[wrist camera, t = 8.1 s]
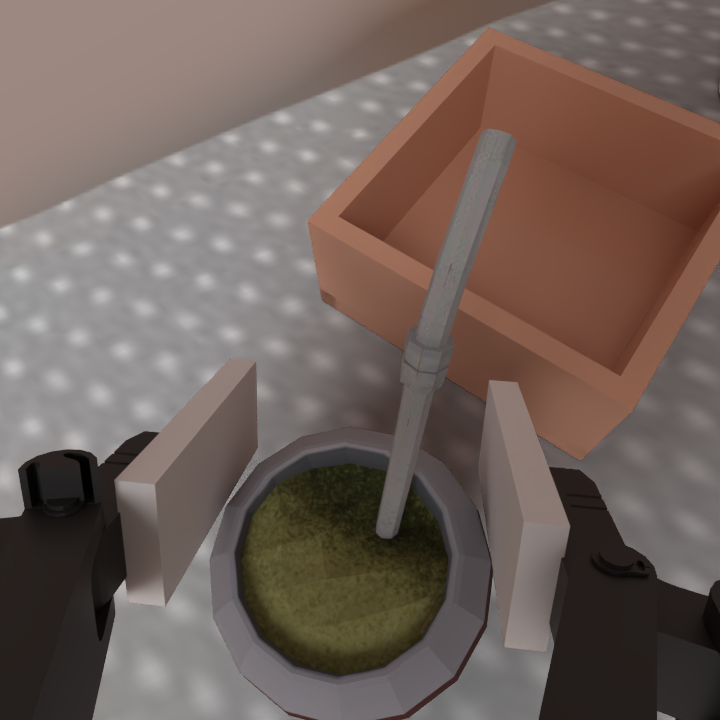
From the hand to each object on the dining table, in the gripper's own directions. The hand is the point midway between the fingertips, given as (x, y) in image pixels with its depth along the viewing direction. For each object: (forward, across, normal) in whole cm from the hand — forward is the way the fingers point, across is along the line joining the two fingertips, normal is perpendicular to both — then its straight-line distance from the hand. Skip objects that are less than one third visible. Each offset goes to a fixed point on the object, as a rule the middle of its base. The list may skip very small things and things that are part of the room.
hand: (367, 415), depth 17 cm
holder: (+12, +6, +2) cm, 13 cm away
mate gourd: (+2, 0, -7) cm, 7 cm away
